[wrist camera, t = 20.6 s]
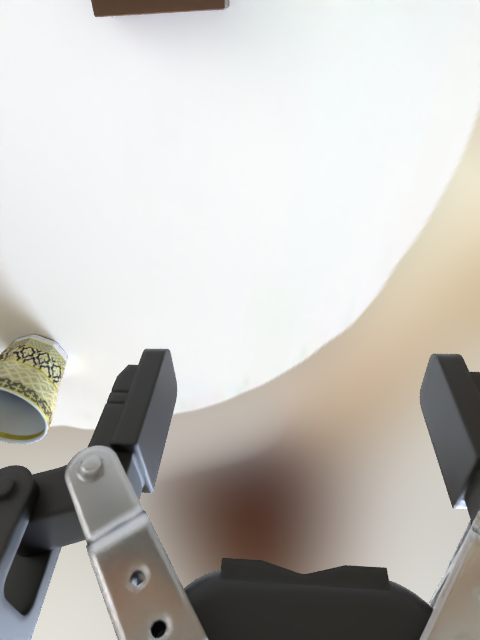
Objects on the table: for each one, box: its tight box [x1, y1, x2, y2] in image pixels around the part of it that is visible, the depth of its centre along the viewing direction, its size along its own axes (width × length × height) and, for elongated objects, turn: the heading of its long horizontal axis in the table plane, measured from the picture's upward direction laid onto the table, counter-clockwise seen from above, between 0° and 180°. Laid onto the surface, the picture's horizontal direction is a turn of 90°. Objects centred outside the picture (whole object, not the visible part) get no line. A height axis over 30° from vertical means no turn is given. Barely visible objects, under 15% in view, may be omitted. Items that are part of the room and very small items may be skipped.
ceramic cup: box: [0, 334, 68, 444], centre depth 50 cm, size 13×10×10 cm
